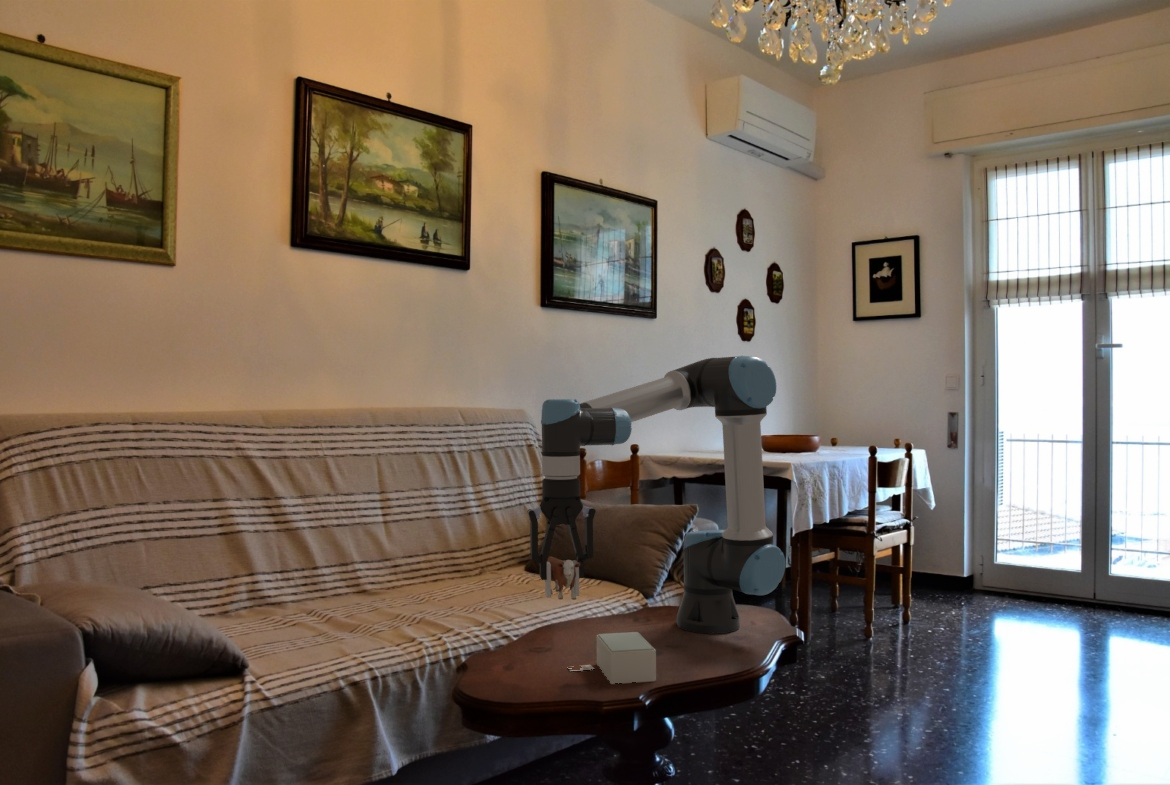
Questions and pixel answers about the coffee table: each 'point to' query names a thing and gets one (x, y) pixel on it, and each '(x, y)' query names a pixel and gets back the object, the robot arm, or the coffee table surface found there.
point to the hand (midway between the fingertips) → (562, 595)
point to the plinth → (626, 657)
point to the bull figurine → (563, 575)
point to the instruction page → (583, 668)
